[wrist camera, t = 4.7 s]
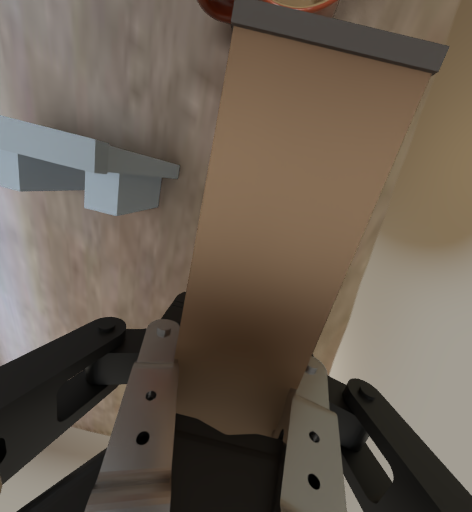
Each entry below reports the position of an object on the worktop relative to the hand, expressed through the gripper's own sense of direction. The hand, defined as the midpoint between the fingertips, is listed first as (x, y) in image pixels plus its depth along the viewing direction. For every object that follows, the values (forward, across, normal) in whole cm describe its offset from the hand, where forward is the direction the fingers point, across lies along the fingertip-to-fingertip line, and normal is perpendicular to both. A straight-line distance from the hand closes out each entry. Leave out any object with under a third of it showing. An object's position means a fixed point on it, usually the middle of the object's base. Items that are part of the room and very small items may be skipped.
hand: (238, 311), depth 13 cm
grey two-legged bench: (+17, +18, -4) cm, 25 cm away
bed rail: (+1, 0, -3) cm, 3 cm away
